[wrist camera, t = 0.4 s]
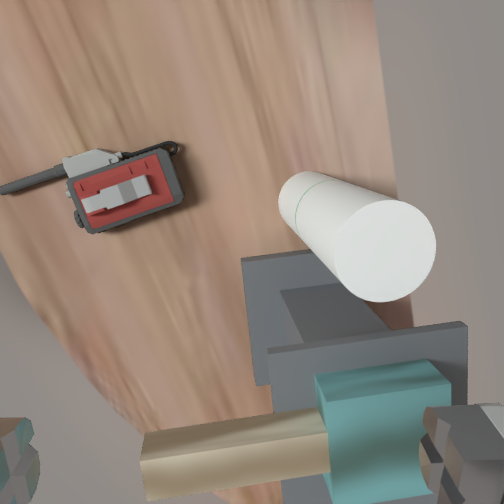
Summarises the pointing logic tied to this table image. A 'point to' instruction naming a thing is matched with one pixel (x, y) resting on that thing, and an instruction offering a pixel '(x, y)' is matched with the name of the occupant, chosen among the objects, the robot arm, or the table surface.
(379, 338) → the stand
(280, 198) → the cylindrical container
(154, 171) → the walkie-talkie
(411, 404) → the tan and teal block
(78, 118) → the table surface
